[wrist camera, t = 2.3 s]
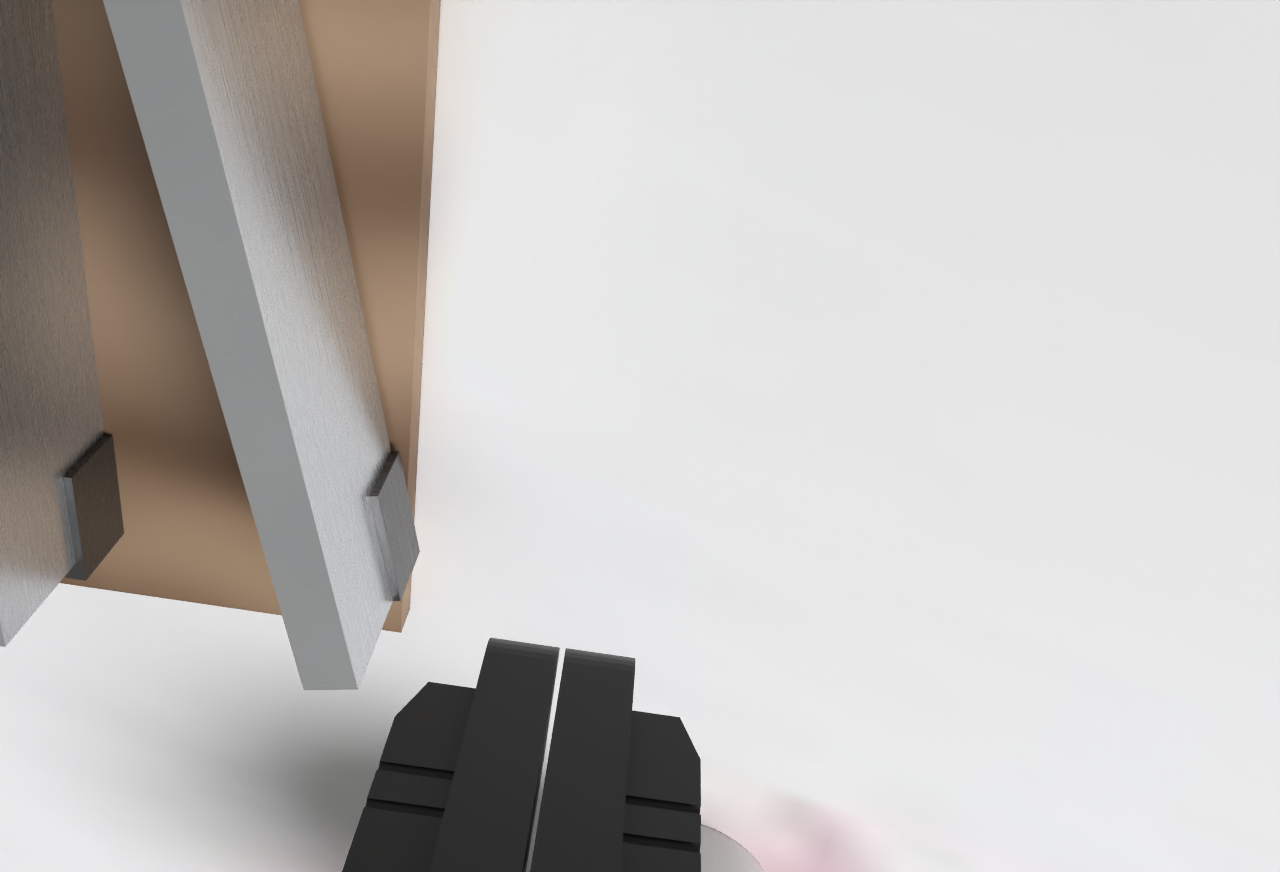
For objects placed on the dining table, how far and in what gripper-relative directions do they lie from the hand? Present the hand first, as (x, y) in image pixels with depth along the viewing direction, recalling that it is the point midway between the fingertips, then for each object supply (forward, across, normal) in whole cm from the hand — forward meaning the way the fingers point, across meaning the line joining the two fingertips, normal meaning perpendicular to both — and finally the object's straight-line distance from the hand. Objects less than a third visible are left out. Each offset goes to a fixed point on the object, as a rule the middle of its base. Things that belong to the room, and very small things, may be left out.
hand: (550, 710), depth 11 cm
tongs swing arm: (+14, +7, -1) cm, 15 cm away
